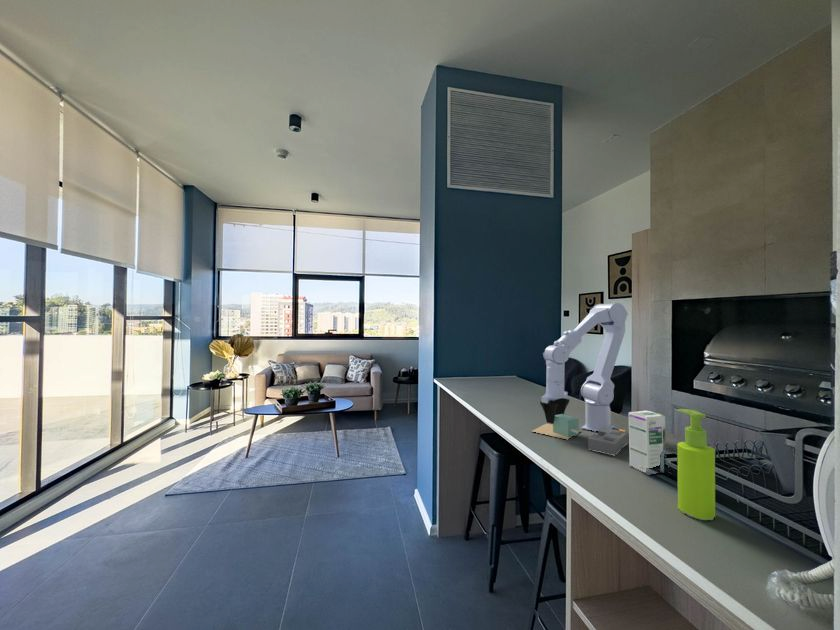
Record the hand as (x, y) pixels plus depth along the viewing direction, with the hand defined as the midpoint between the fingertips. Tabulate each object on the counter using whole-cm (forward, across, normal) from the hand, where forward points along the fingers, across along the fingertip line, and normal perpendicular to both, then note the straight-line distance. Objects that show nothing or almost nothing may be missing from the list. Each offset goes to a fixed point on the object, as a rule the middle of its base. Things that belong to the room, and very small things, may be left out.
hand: (554, 421), depth 120 cm
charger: (+3, 0, -5) cm, 6 cm away
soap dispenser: (+4, -26, -43) cm, 50 cm away
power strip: (+3, -1, -18) cm, 18 cm away
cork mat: (+4, 0, 0) cm, 4 cm away
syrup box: (+4, -11, -30) cm, 33 cm away
